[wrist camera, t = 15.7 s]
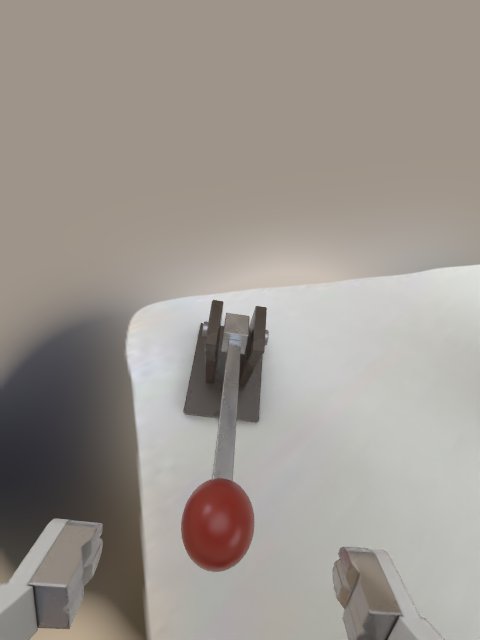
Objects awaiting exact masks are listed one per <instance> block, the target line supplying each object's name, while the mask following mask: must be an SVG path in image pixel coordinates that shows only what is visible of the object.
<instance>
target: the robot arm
mask: <svg viewBox="0 0 480 640" xmlns="http://www.w3.org/2000/svg"><path fill="white" fill-rule="evenodd" d="M101 533H102V523H92V522H82V521H81V522H80V521H72V520H65V519H53V520H52V521H51V522H50V523H49V524H48V525H47V526H46V528H45V529H44V531H43V532H42V533H41V535H40V536H39V538H38V539H37V541H36V542H35V544H34V545H33V547H32V548H31V550H30V551H29V553H28V554H27V555H26V557H25V558H24V560H23V561H22V563H21V564H20V566H19V567H18V568H17V570H16V572H15V573H14V574H13V576H12V577H11V579H10V580H9V582H8V583H2V584H0V640H29V639H30V638H31V637H32V636H33V635H34V634H35V633H36V632H37V630H38V628H56V629H70V627H71V624H72V622H73V620H74V617H75V615H76V613H77V611H78V609H79V606H80V604H81V602H82V599H83V586H84V585H85V584H86V583H87V582H88V581H89V580H90V579H91V578H92V577H93V574H94V572H95V570H96V567H97V565H98V562H99V558H100V555H101V551H102V542H103V541H102V539H101V538H100V535H101ZM338 554H339V557H340V559H339V560H337V561H336V562H335V563H334V567H333V584H334V589H335V593H336V597H337V599H338V601H339V602H340V604H341V605H342V606H343V608H344V615H343V621H344V625H345V628H346V632H347V635H348V639H349V640H445V639H444V638H443V637H442V636H441V635H440V634H439V633H438V632H437V631H436V630H435V629H434V627H433V626H432V625H431V624H430V623H429V622H428V621H427V620H426V619H425V618H421V617H420V615H419V613H418V611H417V610H416V608H415V606H414V604H413V602H412V600H411V598H410V596H409V594H408V592H407V590H406V588H405V586H404V584H403V582H402V580H401V578H400V576H399V574H398V572H397V570H396V568H395V566H394V564H393V562H392V560H391V558H390V556H389V554H388V553H387V552H386V551H383V550H375V549H367V548H354V547H342V548H340V550H339V553H338Z"/></svg>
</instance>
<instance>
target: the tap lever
mask: <svg viewBox="0 0 480 640" xmlns="http://www.w3.org/2000/svg"><path fill="white" fill-rule="evenodd" d="M248 337H249V316H245V315H238V314H231V313H226V318H225V325H224V332H223V339H222V347H221V351H222V352H227V357H226V365H225V374H224V382H223V390H222V399H221V407H220V416H219V424H218V432H217V441H216V449H215V458H214V466H213V474H212V479H211V480H209V481H206V482H204V483H203V484H201V485H200V486H199V487H198V488H197V489H196V490H195V491H194V492H193V493H192V495H191V496H190V498H189V499H188V501H187V503H186V506H185V508H184V512H183V516H182V523H181V532H182V539H183V543H184V546H185V549H186V551H187V553H188V555H189V556H190V558H191V559H192V560H193V562H194V563H195V564H197V565H198V566H199V567H201V568H202V569H205V570H207V571H212V572H220V571H225V570H227V569H230V568H231V567H233V566H235V565H236V564H237V563H238V562H239V561H240V560H241V559H242V558H243V557H244V555H245V554H246V552H247V550H248V548H249V546H250V544H251V541H252V537H253V533H254V512H253V508H252V504H251V502H250V499H249V497H248V496H247V494H246V493H245V491H244V490H243V489H242V488H241V487H240V486H239V485H238V484H236V483H235V482H233V467H234V450H235V434H236V418H237V402H238V385H239V369H240V354H245V350H246V346H247V341H248Z"/></svg>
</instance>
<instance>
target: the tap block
mask: <svg viewBox="0 0 480 640" xmlns="http://www.w3.org/2000/svg"><path fill="white" fill-rule="evenodd" d="M266 309H267V308H266V307H259V306H256V308H255V311H254V314H253V317H252V320H251V323H250V326H249V337H248V341H247V346H246V350H245V354H240V369H239V385H238V402H237V418H236V420H239V421H247V422H256V423H257V422H258V421H259V406H260V388H261V370H262V355H263V353H264V347H265V345H266V344H267V341H268V330H265V328H266ZM222 310H223V301H216V300H213V301H212V306H211V311H210V317H209V322H204V324H203V323H201V325H200V330H199V335H198V340H197V346H196V351H195V356H194V361H193V366H192V371H191V376H190V381H189V386H188V392H187V397H186V402H185V407H184V414H188V415H197V416H205V417H214V418H219V416H220V407H221V399H222V390H223V382H224V374H225V365H226V357H227V352H222V351H221V347H222V339H223V332H224V326H221V320H222Z"/></svg>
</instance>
